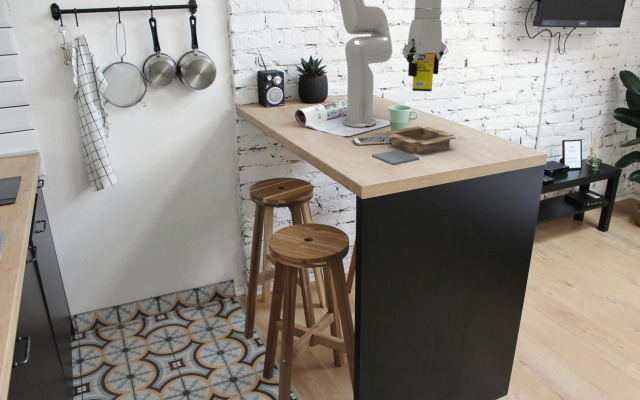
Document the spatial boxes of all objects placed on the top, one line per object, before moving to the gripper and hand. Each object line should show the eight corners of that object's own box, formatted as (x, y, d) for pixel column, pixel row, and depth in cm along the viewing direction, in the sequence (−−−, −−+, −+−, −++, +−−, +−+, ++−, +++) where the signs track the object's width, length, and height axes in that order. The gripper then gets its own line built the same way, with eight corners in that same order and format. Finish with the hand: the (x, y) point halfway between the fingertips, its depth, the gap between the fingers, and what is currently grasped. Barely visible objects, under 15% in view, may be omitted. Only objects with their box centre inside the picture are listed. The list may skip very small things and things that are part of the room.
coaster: (372, 156, 159) (372, 154, 158) (397, 151, 164) (397, 149, 163) (392, 165, 151) (393, 163, 151) (419, 159, 156) (419, 157, 155)
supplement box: (432, 91, 158) (434, 54, 154) (412, 91, 159) (414, 54, 155) (431, 88, 164) (434, 52, 160) (412, 87, 165) (414, 52, 161)
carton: (380, 143, 172) (380, 132, 171) (421, 135, 181) (422, 125, 179) (417, 157, 158) (417, 145, 156) (460, 148, 166) (461, 136, 165)
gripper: (439, 13, 161) (435, 71, 167) (396, 15, 152) (393, 75, 159) (457, 14, 155) (452, 74, 161) (413, 16, 146) (409, 79, 153)
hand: (423, 74), depth 160 cm, fingers closed on supplement box, 8 cm apart
